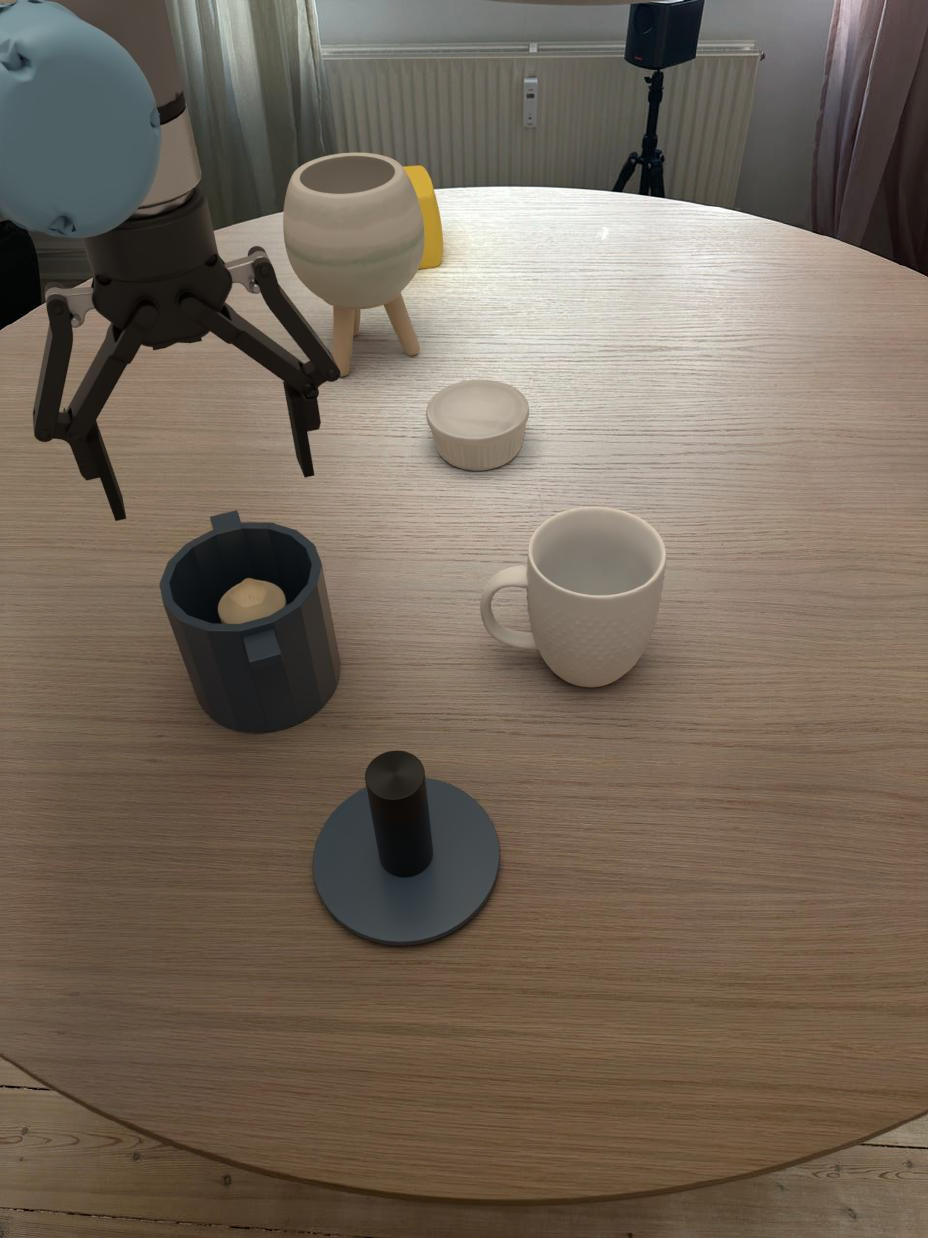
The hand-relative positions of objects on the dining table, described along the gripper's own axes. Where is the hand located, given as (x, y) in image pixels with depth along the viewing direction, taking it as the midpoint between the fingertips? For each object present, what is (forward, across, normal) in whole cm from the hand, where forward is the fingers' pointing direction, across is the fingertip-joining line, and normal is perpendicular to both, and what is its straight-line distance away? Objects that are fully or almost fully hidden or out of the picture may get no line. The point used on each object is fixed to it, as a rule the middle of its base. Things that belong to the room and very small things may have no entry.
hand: (214, 487), depth 72 cm
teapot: (+21, -36, -74) cm, 85 cm away
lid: (+21, -6, +22) cm, 31 cm away
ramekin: (+21, -30, -25) cm, 44 cm away
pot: (+21, 0, 0) cm, 21 cm away
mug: (+21, -26, +8) cm, 35 cm away
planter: (+21, -24, -49) cm, 58 cm away
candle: (+21, -1, 0) cm, 21 cm away
